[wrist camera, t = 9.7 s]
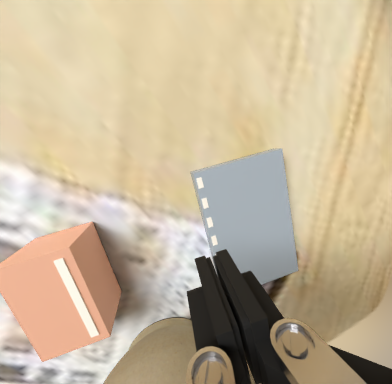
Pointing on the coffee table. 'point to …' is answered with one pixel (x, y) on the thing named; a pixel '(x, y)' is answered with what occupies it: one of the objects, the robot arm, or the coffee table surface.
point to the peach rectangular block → (62, 290)
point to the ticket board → (249, 213)
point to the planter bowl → (158, 355)
